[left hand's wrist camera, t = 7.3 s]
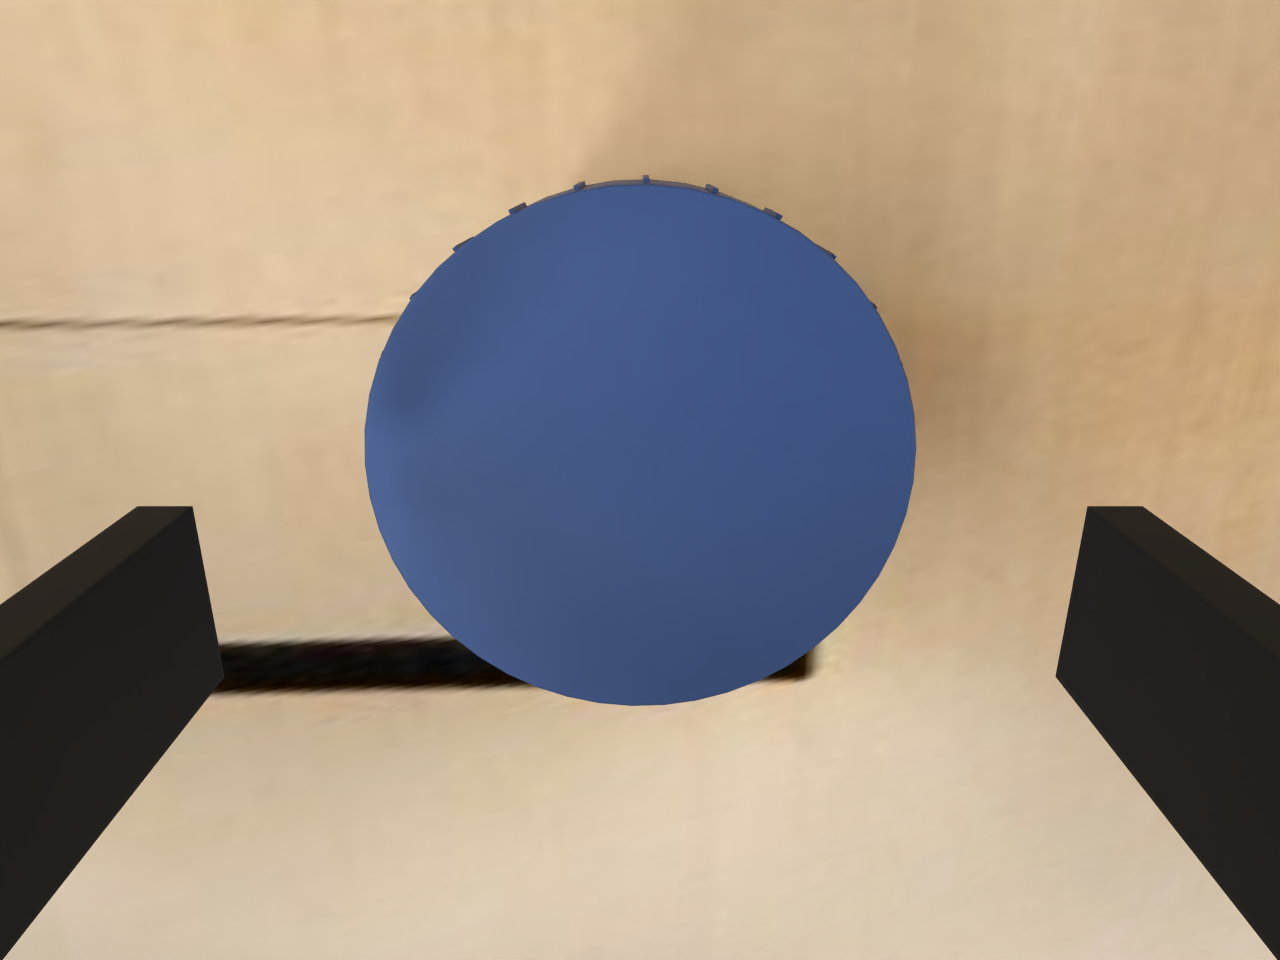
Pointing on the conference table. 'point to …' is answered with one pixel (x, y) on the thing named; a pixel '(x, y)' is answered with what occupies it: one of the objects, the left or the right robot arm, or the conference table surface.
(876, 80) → the conference table surface
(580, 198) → the lid
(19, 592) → the left robot arm
